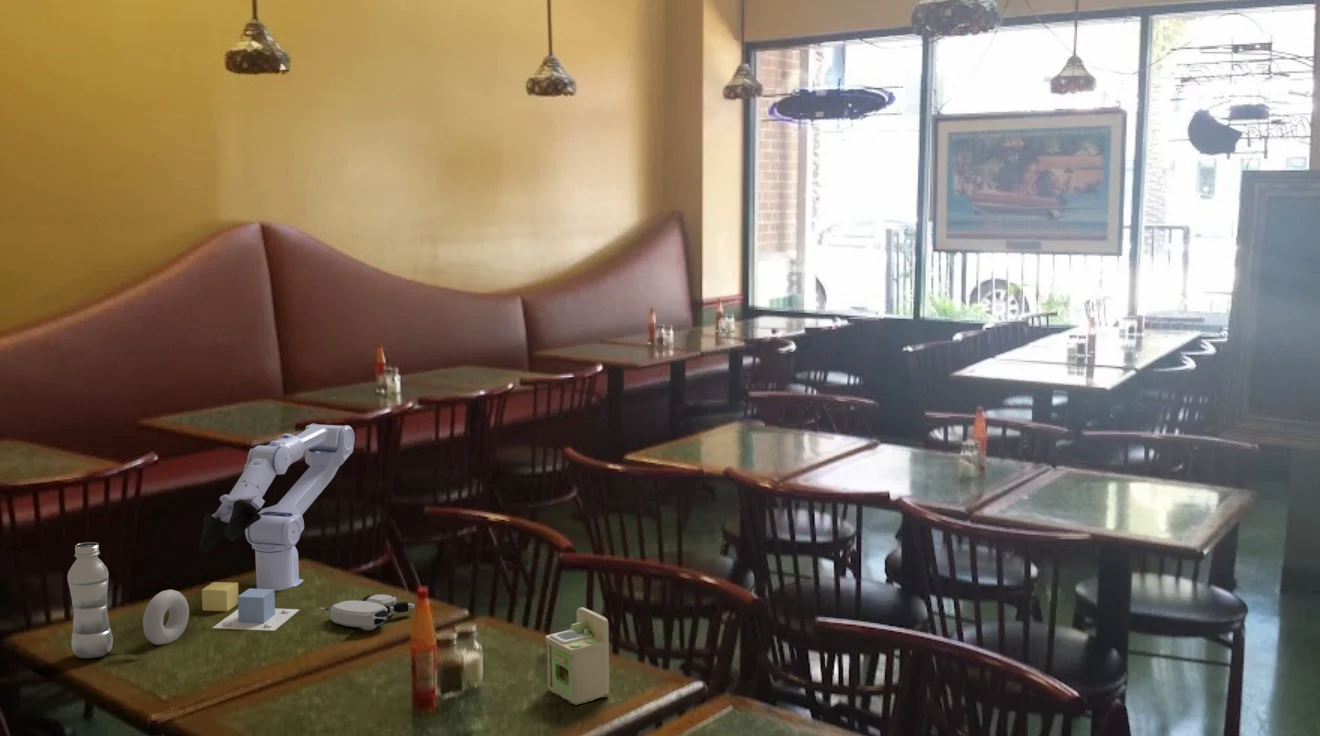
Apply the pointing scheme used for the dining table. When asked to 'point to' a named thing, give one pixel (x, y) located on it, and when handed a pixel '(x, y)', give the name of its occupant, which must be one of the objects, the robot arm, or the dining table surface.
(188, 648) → the dining table surface
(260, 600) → the slate block
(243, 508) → the robot arm
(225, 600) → the mustard block
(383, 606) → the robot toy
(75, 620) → the plastic bottle
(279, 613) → the plate
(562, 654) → the toy sink
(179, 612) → the donut
